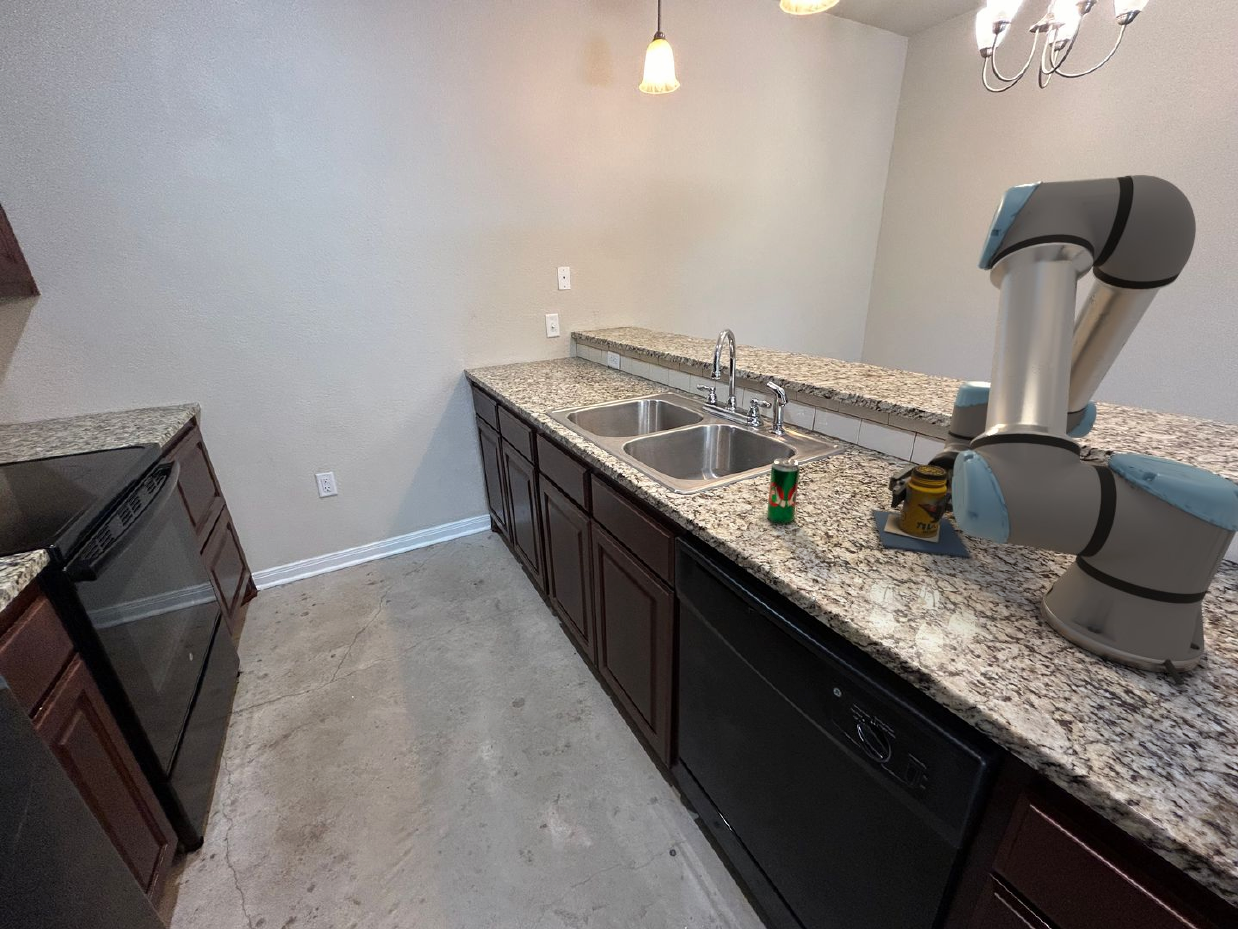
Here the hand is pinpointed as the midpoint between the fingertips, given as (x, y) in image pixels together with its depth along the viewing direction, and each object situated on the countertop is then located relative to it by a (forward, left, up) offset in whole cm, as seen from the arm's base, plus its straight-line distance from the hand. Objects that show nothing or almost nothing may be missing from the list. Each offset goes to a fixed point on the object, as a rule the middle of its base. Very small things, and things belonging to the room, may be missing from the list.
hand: (915, 506), depth 85 cm
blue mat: (+4, -2, -7) cm, 9 cm away
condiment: (+5, -1, -7) cm, 9 cm away
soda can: (+3, +22, -7) cm, 23 cm away
